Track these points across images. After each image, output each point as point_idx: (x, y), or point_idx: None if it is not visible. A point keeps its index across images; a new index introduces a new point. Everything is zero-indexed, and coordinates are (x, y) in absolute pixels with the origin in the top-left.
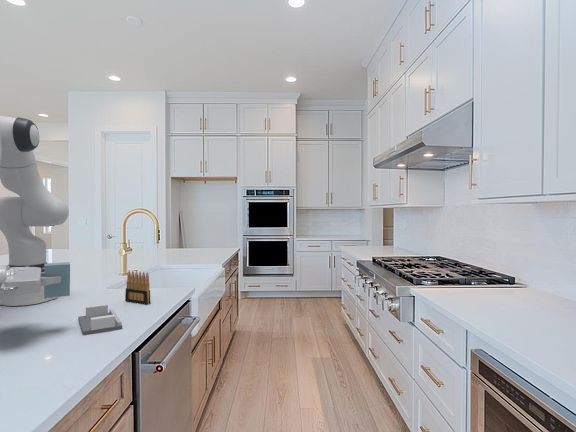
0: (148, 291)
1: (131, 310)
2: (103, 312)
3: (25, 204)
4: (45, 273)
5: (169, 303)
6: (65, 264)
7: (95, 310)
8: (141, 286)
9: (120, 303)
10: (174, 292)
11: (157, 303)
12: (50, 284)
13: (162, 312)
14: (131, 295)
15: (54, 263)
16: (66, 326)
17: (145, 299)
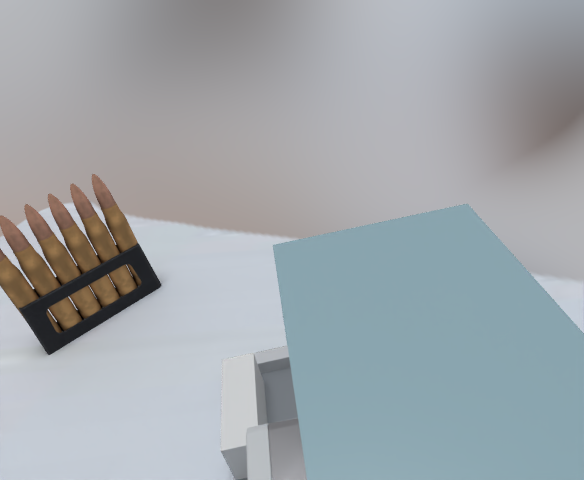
0: (137, 242)
1: (207, 322)
2: (263, 390)
3: None
4: None
5: (190, 236)
6: (474, 233)
7: (261, 413)
8: (103, 244)
9: (64, 368)
10: (61, 234)
11: (165, 261)
12: None
13: None
14: (68, 310)
15: (353, 361)
16: None
17: (147, 274)
